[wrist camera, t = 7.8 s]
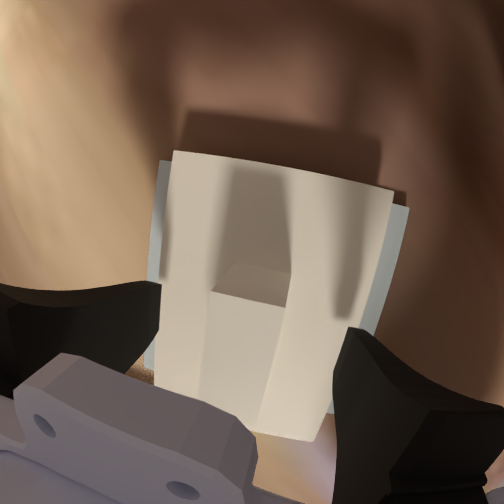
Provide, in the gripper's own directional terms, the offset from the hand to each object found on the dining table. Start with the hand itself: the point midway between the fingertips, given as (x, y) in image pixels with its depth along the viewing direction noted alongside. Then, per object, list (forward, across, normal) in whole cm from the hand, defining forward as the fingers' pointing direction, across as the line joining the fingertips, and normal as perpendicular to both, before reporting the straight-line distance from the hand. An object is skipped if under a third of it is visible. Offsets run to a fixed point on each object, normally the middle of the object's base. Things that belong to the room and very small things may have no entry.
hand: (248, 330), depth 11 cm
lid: (+2, 0, 0) cm, 2 cm away
